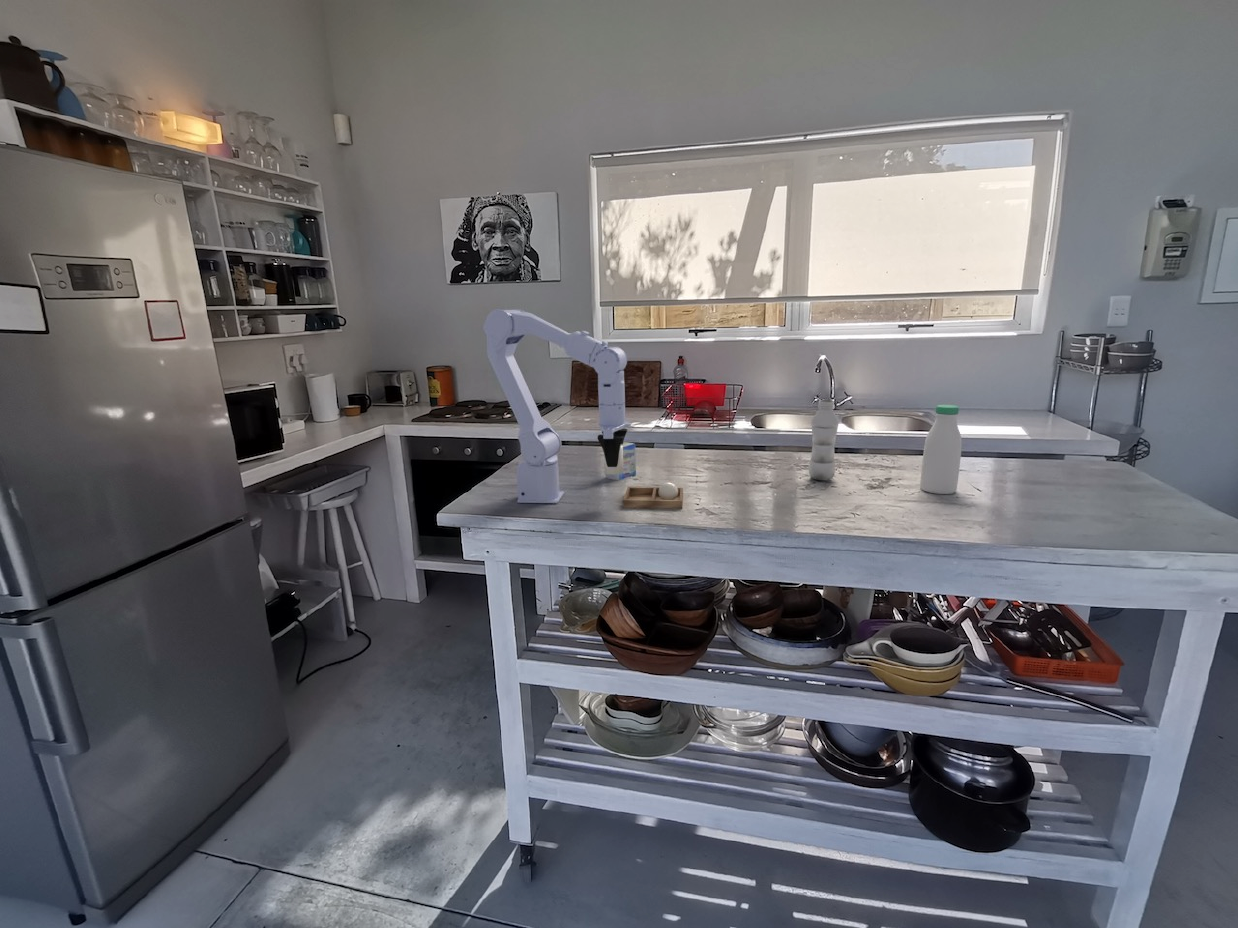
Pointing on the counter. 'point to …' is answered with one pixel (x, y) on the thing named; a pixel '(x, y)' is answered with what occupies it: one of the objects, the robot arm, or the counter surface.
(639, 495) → the caddy
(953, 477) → the milk bottle
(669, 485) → the ceramic egg
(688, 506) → the counter surface
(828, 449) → the plastic bottle
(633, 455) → the medicine box
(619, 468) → the white rounded block
